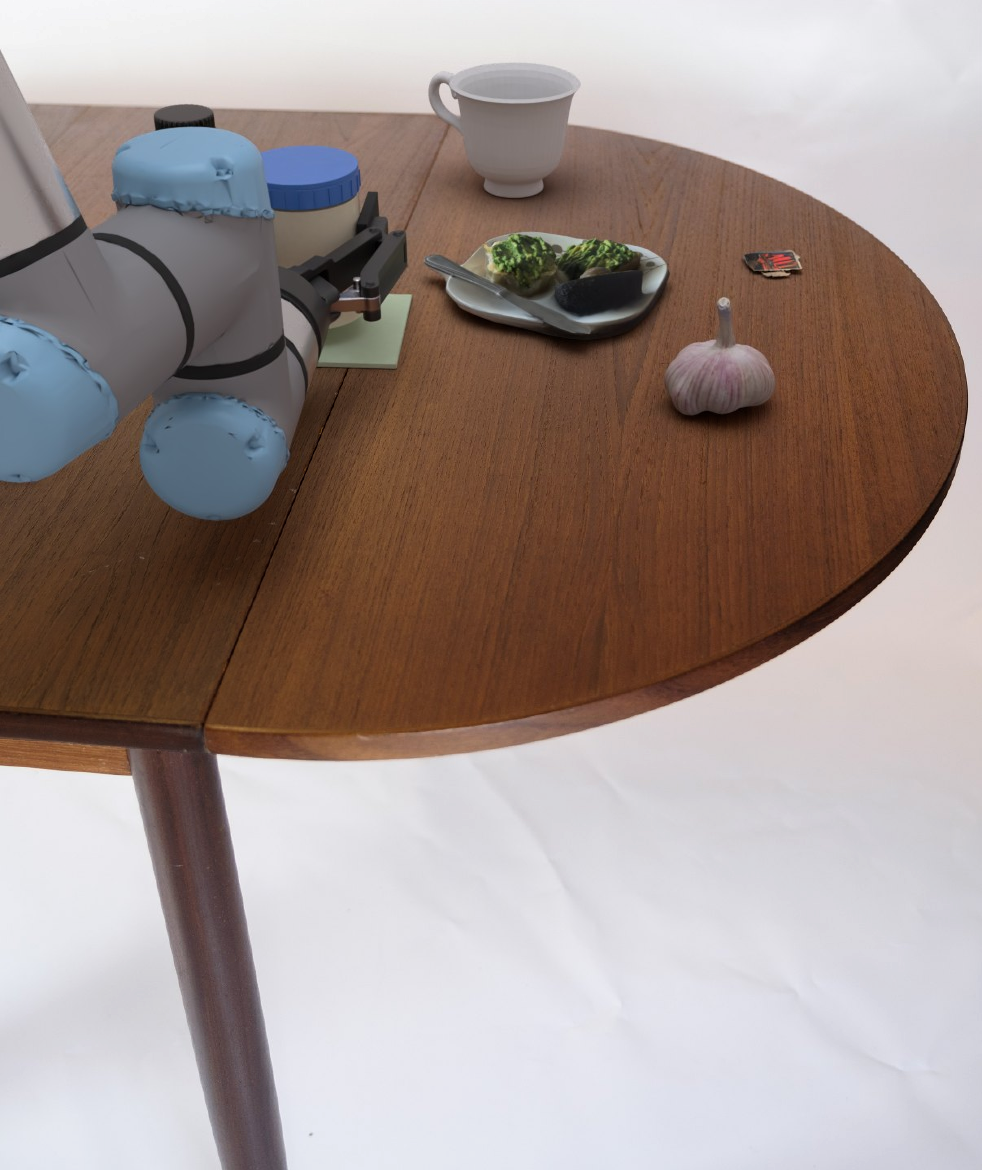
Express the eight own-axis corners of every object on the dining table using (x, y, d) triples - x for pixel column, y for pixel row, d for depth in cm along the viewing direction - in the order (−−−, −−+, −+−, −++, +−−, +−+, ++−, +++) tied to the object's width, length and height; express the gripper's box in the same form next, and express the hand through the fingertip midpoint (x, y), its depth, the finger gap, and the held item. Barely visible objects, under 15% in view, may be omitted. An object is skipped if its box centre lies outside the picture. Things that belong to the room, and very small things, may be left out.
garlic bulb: (658, 425, 87) (668, 317, 83) (666, 375, 93) (676, 271, 88) (770, 436, 86) (788, 327, 82) (771, 384, 92) (788, 280, 87)
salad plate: (382, 318, 100) (379, 262, 98) (471, 236, 114) (471, 185, 111) (617, 363, 95) (622, 305, 92) (683, 271, 108) (688, 218, 105)
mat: (207, 364, 94) (206, 359, 94) (240, 294, 104) (239, 290, 104) (396, 369, 94) (396, 364, 94) (412, 299, 103) (412, 294, 103)
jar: (251, 330, 95) (234, 190, 88) (271, 285, 101) (256, 152, 95) (359, 332, 94) (349, 192, 88) (372, 286, 101) (364, 153, 94)
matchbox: (736, 257, 110) (737, 252, 109) (791, 251, 111) (791, 246, 111) (760, 279, 106) (761, 274, 106) (816, 273, 107) (817, 267, 107)
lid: (233, 209, 89) (230, 184, 88) (256, 168, 96) (254, 144, 94) (352, 211, 89) (350, 186, 88) (367, 170, 95) (365, 146, 94)
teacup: (459, 155, 131) (458, 52, 125) (595, 177, 125) (600, 72, 119) (402, 193, 122) (398, 85, 116) (544, 219, 117) (548, 107, 111)
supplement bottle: (154, 270, 108) (131, 126, 100) (168, 238, 113) (146, 99, 106) (236, 269, 108) (219, 125, 100) (246, 238, 113) (230, 99, 106)
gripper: (106, 393, 82) (189, 253, 100) (428, 399, 82) (454, 257, 100) (83, 283, 78) (174, 157, 96) (424, 289, 77) (451, 161, 95)
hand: (316, 208), depth 98 cm, fingers closed on jar, 8 cm apart
